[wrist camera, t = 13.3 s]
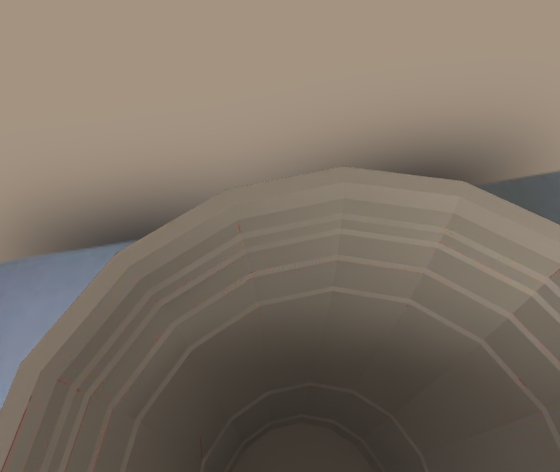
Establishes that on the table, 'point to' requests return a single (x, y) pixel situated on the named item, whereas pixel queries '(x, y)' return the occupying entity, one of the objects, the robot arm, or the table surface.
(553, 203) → the table surface
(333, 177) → the plastic cup
